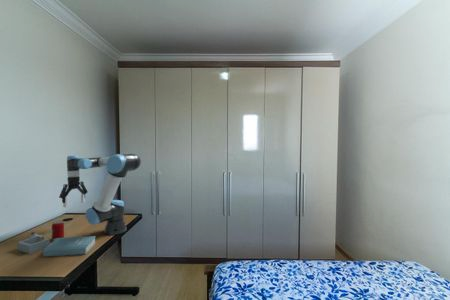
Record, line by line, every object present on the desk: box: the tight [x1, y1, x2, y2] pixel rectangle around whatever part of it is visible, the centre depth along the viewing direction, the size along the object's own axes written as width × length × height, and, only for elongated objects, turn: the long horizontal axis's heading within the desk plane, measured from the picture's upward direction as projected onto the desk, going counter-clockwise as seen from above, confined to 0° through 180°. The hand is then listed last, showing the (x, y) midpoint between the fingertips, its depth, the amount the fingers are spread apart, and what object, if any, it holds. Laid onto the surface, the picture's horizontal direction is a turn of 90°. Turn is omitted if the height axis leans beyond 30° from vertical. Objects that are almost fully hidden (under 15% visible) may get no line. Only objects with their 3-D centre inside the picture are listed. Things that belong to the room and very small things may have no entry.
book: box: [42, 235, 96, 257], centre depth 147 cm, size 23×16×5 cm
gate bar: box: [30, 231, 45, 242], centre depth 160 cm, size 12×2×4 cm, turn 68°
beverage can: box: [51, 220, 65, 241], centre depth 161 cm, size 7×7×12 cm
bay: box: [17, 236, 57, 255], centre depth 149 cm, size 14×15×5 cm
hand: (74, 204), depth 175 cm, fingers open, 13 cm apart
